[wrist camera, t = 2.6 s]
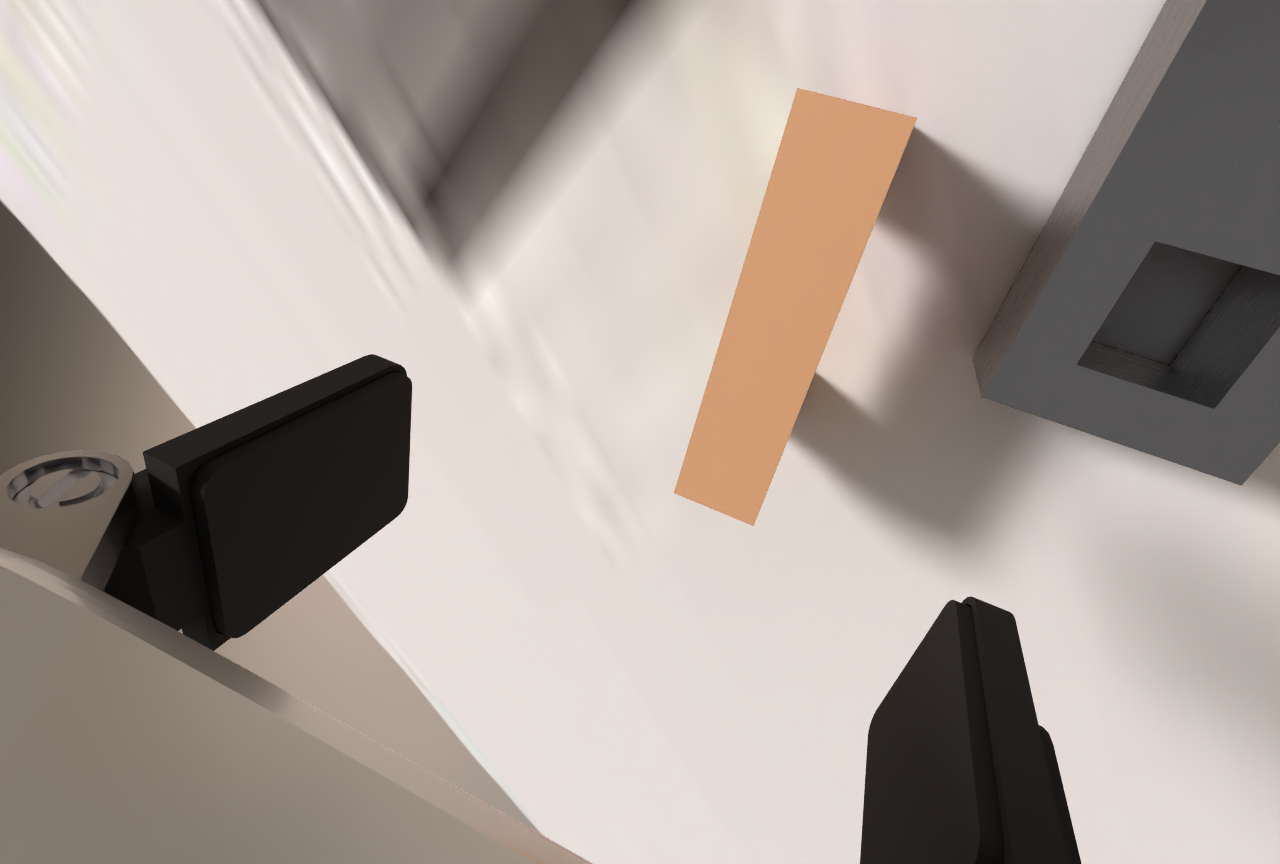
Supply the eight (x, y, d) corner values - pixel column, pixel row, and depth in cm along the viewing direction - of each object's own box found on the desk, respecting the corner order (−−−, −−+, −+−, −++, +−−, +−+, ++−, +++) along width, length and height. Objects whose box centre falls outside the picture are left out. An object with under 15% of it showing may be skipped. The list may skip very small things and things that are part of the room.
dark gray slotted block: (1730, -243, 14) (1984, -354, 11) (1194, 432, 23) (1241, 485, 20) (1319, -285, 16) (1429, -393, 12) (972, 359, 25) (981, 396, 22)
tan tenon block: (916, 117, 22) (917, 118, 15) (792, 425, 29) (753, 526, 22) (833, 96, 23) (797, 88, 16) (731, 402, 30) (673, 493, 22)
